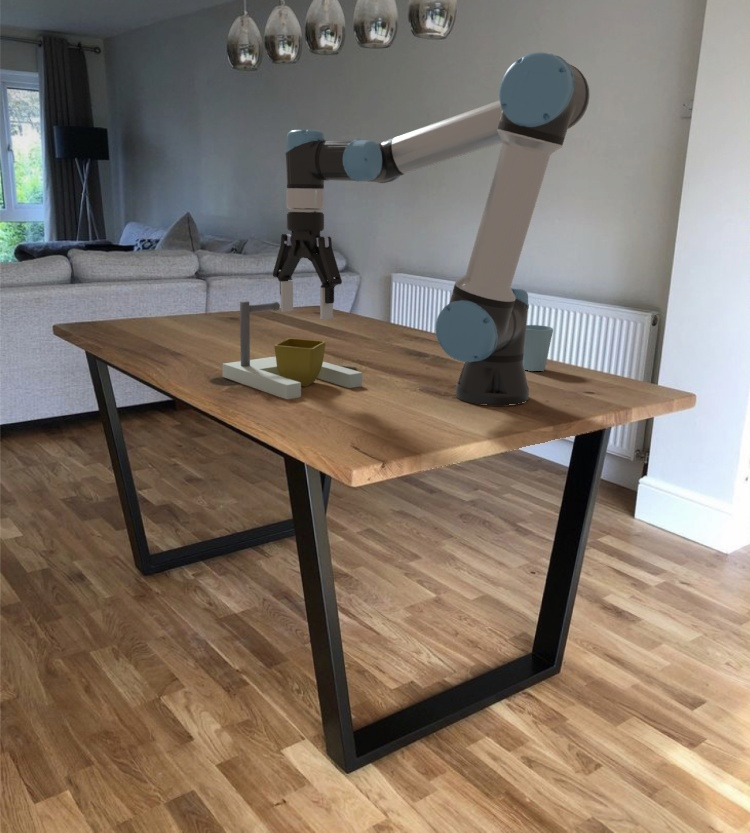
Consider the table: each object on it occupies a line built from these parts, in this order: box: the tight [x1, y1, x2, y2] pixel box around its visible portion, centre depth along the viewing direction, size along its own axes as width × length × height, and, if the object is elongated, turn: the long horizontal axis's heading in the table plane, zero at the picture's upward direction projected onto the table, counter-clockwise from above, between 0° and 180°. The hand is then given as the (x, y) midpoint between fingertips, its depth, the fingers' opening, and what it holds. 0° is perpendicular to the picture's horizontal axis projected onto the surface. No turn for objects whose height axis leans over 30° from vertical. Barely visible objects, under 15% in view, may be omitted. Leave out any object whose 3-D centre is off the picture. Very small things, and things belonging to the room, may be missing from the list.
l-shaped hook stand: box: [222, 300, 363, 400], centre depth 173 cm, size 24×20×17 cm
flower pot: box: [273, 337, 326, 387], centre depth 173 cm, size 9×9×9 cm
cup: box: [523, 324, 554, 372], centre depth 195 cm, size 8×8×10 cm
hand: (306, 315), depth 168 cm, fingers open, 13 cm apart
